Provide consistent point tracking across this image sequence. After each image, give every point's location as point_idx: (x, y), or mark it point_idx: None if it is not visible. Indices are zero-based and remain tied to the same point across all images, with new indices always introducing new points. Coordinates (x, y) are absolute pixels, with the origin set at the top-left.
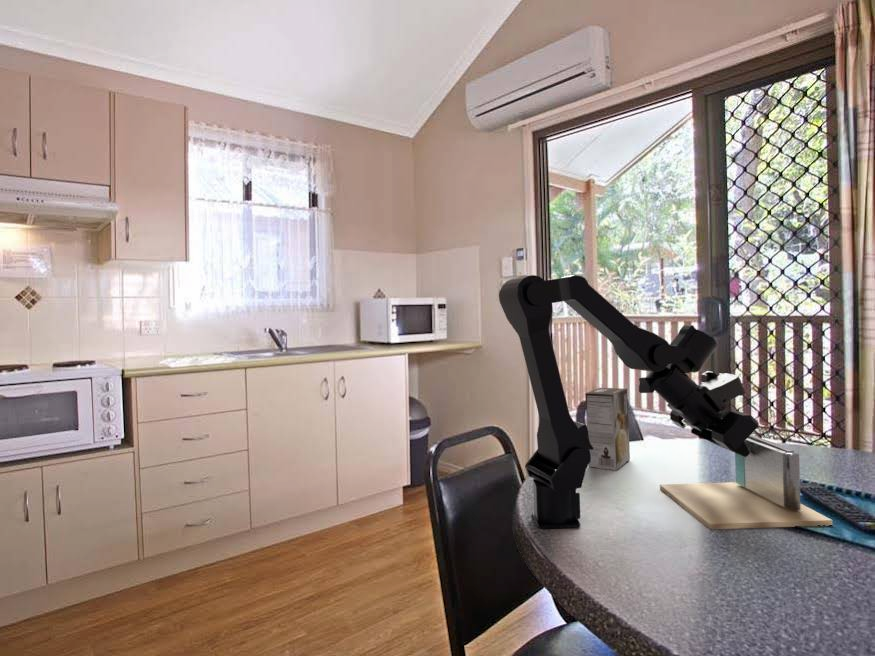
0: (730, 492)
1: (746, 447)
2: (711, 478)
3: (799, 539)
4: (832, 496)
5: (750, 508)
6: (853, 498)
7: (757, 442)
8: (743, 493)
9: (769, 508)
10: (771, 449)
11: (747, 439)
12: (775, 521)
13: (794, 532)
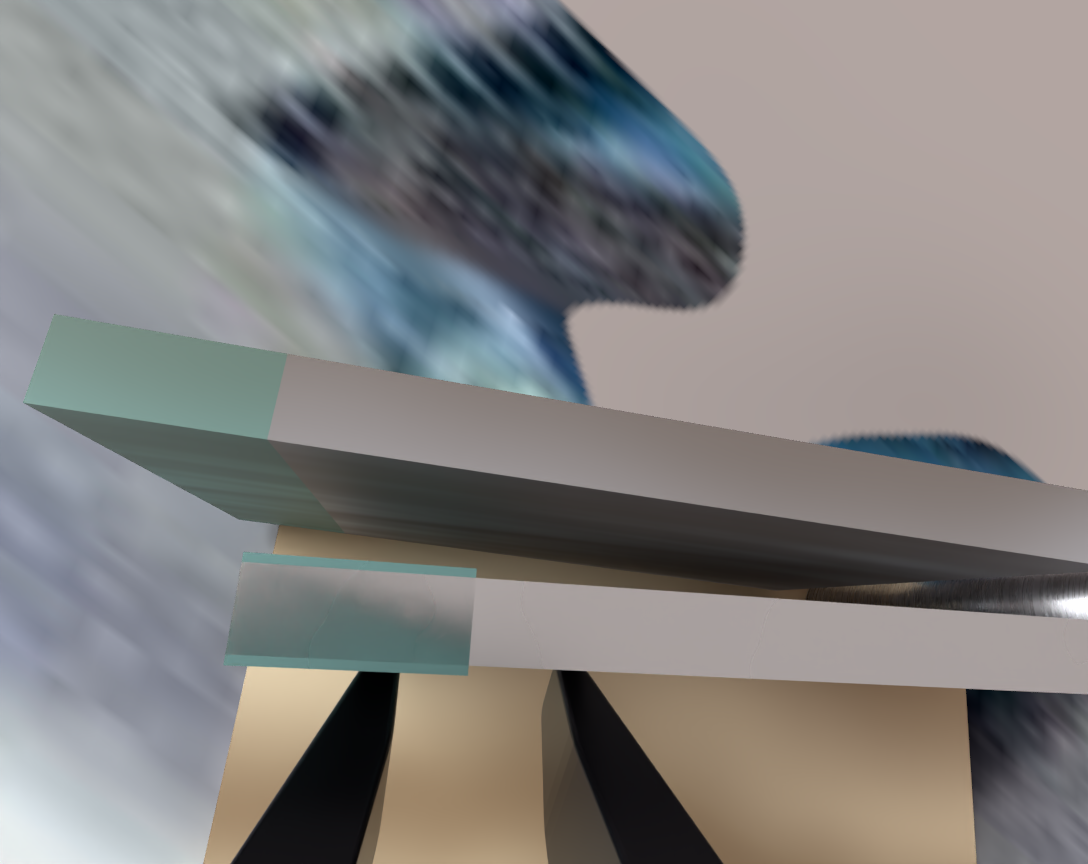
0: (469, 792)
1: (636, 749)
2: (14, 649)
3: (1080, 818)
4: (580, 189)
5: (777, 859)
6: (624, 128)
7: (719, 620)
8: (508, 705)
9: (787, 729)
10: (1041, 689)
11: (526, 636)
12: (968, 842)
13: (1005, 778)
